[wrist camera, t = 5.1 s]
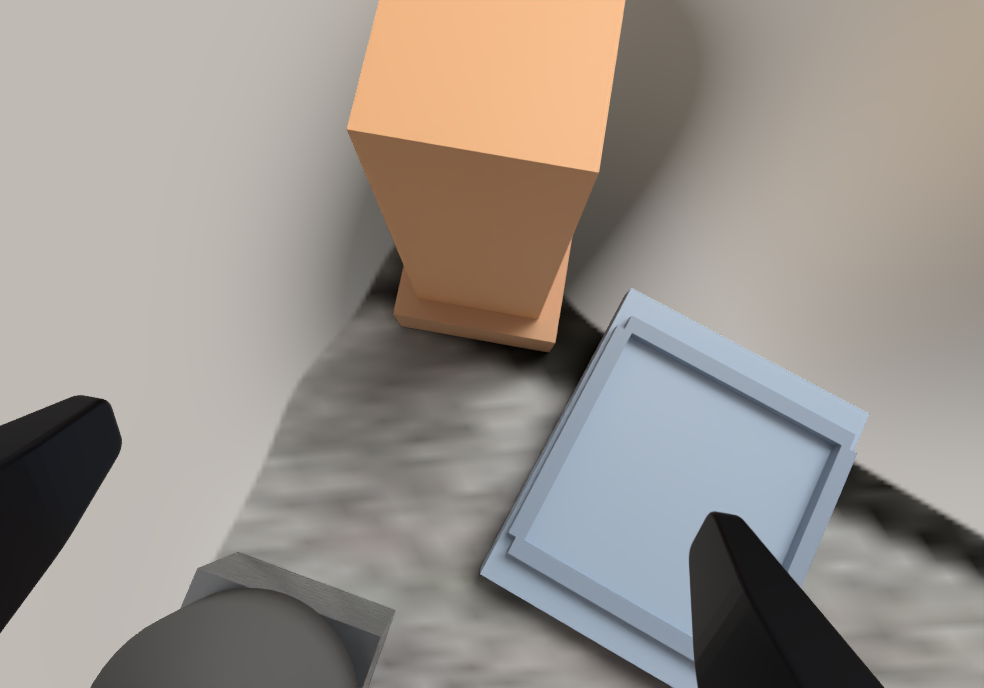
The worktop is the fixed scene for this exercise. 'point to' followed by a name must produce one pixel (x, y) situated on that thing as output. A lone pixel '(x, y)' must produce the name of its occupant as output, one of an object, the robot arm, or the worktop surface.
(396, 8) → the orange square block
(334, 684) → the wheel
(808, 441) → the tray
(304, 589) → the axle mount
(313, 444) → the worktop surface
